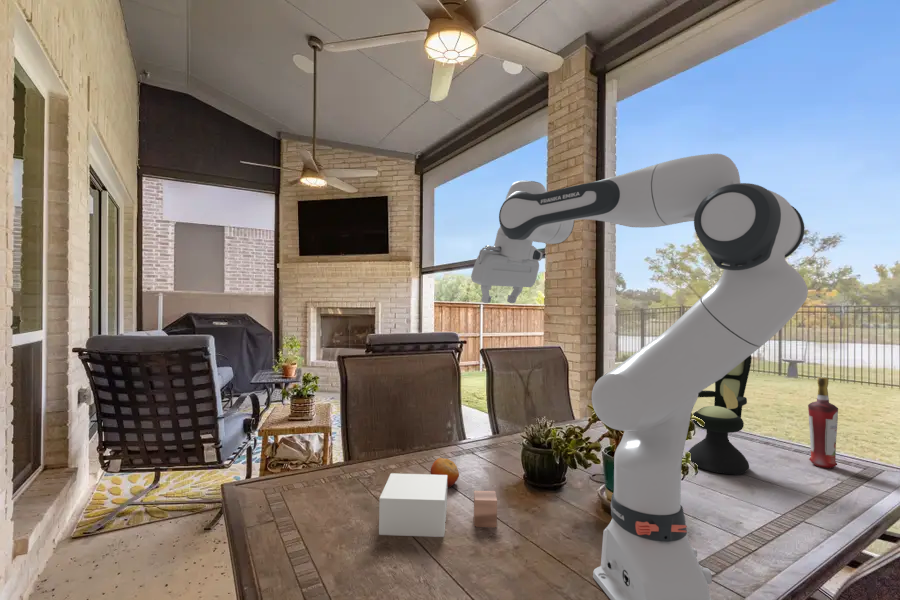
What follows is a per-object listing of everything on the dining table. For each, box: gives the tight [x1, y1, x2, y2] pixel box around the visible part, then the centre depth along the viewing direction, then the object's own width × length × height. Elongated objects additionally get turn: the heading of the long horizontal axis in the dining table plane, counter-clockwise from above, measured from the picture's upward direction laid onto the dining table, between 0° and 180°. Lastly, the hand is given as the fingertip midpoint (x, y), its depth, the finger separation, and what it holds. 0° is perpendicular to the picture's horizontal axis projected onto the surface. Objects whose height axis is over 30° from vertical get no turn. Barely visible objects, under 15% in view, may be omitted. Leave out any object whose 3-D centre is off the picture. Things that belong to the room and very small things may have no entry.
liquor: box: [807, 376, 839, 469], centre depth 139 cm, size 7×7×28 cm
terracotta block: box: [473, 490, 498, 528], centre depth 99 cm, size 5×5×6 cm
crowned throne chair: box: [687, 354, 752, 475], centre depth 139 cm, size 19×22×45 cm
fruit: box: [430, 457, 460, 489], centre depth 120 cm, size 8×8×8 cm
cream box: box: [378, 472, 448, 538], centre depth 100 cm, size 14×14×8 cm
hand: (498, 302), depth 109 cm, fingers open, 8 cm apart
